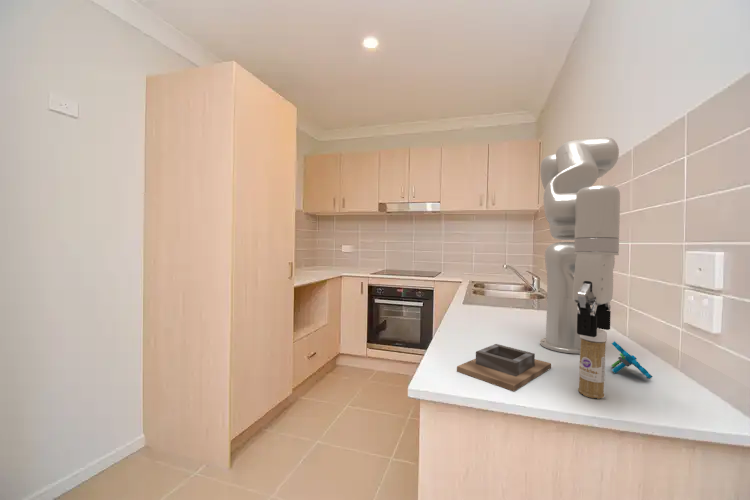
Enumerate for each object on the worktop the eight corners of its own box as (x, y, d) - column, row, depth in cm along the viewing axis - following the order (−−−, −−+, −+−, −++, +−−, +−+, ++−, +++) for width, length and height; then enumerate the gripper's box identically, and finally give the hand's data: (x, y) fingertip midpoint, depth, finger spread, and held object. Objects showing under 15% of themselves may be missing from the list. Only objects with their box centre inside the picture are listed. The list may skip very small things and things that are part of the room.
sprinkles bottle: (575, 393, 68) (577, 329, 67) (582, 387, 71) (584, 325, 70) (601, 402, 64) (603, 333, 64) (607, 395, 67) (609, 330, 67)
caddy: (497, 353, 92) (498, 338, 92) (550, 368, 82) (551, 351, 81) (456, 371, 79) (457, 353, 78) (514, 391, 68) (514, 371, 68)
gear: (660, 379, 71) (620, 341, 75) (636, 395, 73) (598, 357, 77) (646, 369, 81) (612, 336, 85) (625, 383, 83) (592, 350, 87)
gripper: (587, 248, 75) (586, 323, 75) (560, 246, 64) (558, 334, 63) (628, 249, 70) (626, 329, 69) (606, 246, 58) (604, 343, 58)
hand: (594, 331), depth 66 cm, fingers open, 9 cm apart
